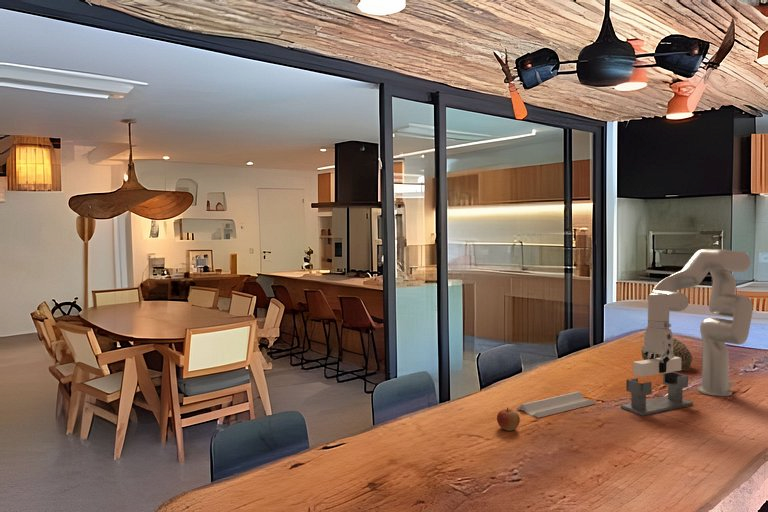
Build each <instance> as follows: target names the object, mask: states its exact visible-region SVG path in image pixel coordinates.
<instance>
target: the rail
mask: <svg viewBox="0 0 768 512" xmlns="http://www.w3.org/2000/svg"><path fill="white" fill-rule="evenodd" d="M660 362H661V361H660V358H655V359H648V360H636V361H632V375H633V376H636V377H640V378H643V377H649V376H650V377H651V376H657V375H663V373H659V363H660ZM680 371H682V370H681V358H680V357H676V356H675V357H674V358H672V359H670V360H669V361H668V362H667V363H666V372H664V373H668V372H680Z"/></svg>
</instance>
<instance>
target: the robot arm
mask: <svg viewBox="0 0 768 512" xmlns="http://www.w3.org/2000/svg"><path fill="white" fill-rule="evenodd" d="M750 265H751V258H750V256H749V254H748V253H746V251H745V252H744V251H742V250H741V251H739V250H730V249H721V248H720V249H719V248H718V249H717V248H716V249H715V248H702V249H699V250H697V251H695V252H694V254H693V255H692V256H691V257H690V258H689V260H688V261H687V262H686V263H685V265H684V266H683V268H682V269H680V270H679V271H677V272H675V273H672V274H671V275H669V276H667V277H665V278H663V279H661V280H660V281H659V282H658V283H657V284H656V285H655V287H653V289H652V291H651V292H650V293H649V294H648V297H647V326H646V328H645V333H644V340H643V345H644V346H643V345H642V347H643V348H642V347H641V350H642V351H643V352H644V353H645V354H646V356H647V359H654V358H655V354H659V355H660V361H661V362H660V363H659V373H664V372H666V363H667V362H668V361H669V360H670V359H672V358H674V357H675V356H674V354H673V338H674V337H673V334H672V333H673V332H672V329H671V327H672V324H671V323H670V312H682V311H684V310H686V309H687V308H688V306H689V298H688V296H687V294H685V293H683V292H680V290H684V289H685V290H686V289H688V288H693V287H696V286H699V285H700V284H701V283H702V281H703V280H704V279H705V278H706V276H707V275H708V274H709V273H710V276H711V280H712V286H711V292H710V296H709V301H708V310H709V312H710V313H711V314H714V315H716V316H721V317H722V316H723V317H729V318H732V319H726V318H720V317H707V318H705V319H703V320H702V321H701V323H700V326H699V330H700V331H699V332H700V337H701V342H702V354H701V356H702V358H701V359H702V361H701V362H702V363H701V385H699V386H697V391H698V392H700V393H702V394H704V395H709V396H714V397H730V396H732V395H733V391H732V390H731V389H730V387H733V386H734V385H735V382H734V381H732V380H731V381H730V380H729V363H730V362H729V359H730V358H729V356H730V355H729V354H730V352H729V349H728V346H727V344H732V345H743V344H745V343H746V342H747V339H748V337H749V333H750V328H751V322H752V318H753V310H754V309H753V308H754V306H753V301H752V300H751V298H750V297H748V296H747V295H743V294H736V287H737V281H736V279H735V277H734V275H733V274H732V273H744V272H746V271H747V270H748V269H749V268H750ZM726 343H727V344H726ZM642 351H641V352H642ZM667 354H669V355H668V356H667ZM663 356H664V357H663Z"/></svg>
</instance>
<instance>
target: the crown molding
mask: <svg viewBox="0 0 768 512" xmlns="http://www.w3.org/2000/svg"><path fill="white" fill-rule="evenodd" d="M595 404H596V401H595V399H588V400H587V399H585V397H584V396H583V394H582V392H581V391H574V392H570V393H569V392H568V393H564V394H561V395H556V396H552V397H547V398H543V399H539V400H534V401H530V402H524V403H522V404H520V405H519V406H518V407H517V408H516V410H517V411H524V413H525V414H527V415H529V416H532V417H536V418H537V419H538V418H539V419H540V418H544V417H546V416H552V415H555V414H559V413H563V412H568V411H572V410H575V409H579V408H583V407H589V406H592V405H595ZM516 410H515V411H516Z"/></svg>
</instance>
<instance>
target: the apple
mask: <svg viewBox="0 0 768 512" xmlns="http://www.w3.org/2000/svg"><path fill="white" fill-rule="evenodd" d="M496 421H497V424H498V426H499V427H500V428H501V429H502V430H504V431H507V432H510V431H512V432H513V431H515V430H516V429H517V428H518V426H520V423H521V422H520V421H521V417H520V414H519V413H518V412H517V411H516V410H514V409H511V408H509V407H506V408H503V409H501V410H499V411H498V412H497V416H496Z"/></svg>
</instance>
